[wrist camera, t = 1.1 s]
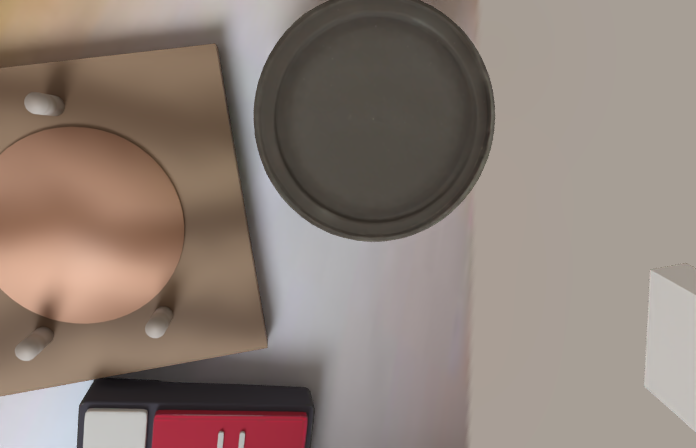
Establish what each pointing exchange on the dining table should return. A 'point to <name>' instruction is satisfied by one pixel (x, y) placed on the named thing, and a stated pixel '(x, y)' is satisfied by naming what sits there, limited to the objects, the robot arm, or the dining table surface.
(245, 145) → the dining table surface
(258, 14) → the dining table surface
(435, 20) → the coffee can
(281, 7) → the dining table surface
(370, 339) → the dining table surface
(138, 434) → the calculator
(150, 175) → the pin board
